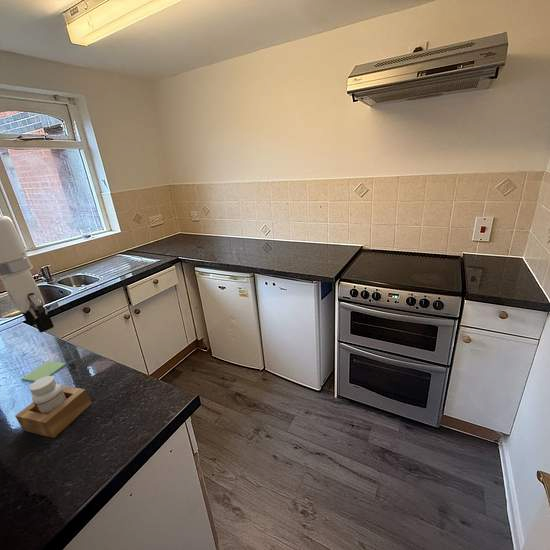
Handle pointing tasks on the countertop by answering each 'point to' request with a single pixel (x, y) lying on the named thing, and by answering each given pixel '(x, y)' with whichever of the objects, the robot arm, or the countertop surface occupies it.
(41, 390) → the pill bottle
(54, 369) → the mat
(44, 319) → the robot arm
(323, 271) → the countertop surface
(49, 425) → the box
